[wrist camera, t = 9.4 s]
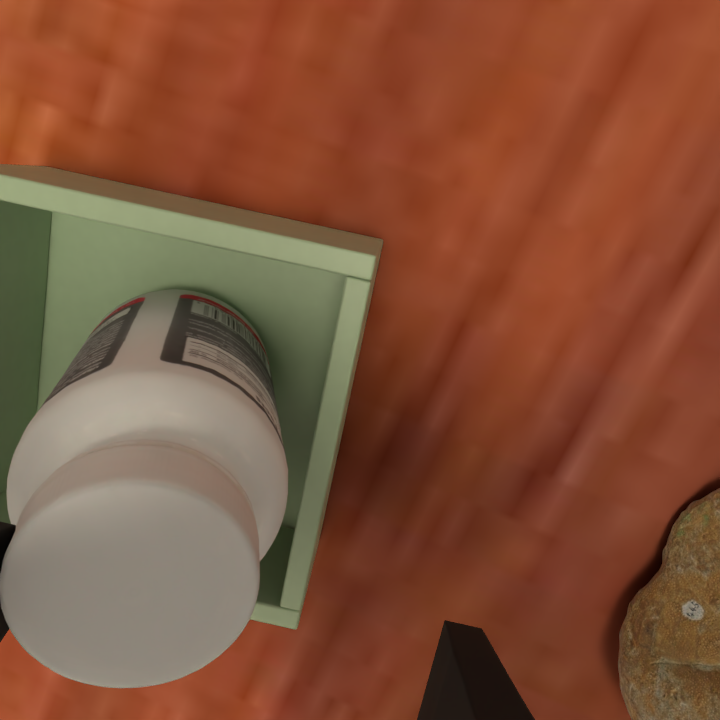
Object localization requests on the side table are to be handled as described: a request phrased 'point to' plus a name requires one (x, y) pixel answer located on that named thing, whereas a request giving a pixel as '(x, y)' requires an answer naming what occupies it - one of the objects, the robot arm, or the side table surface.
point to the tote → (200, 274)
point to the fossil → (677, 625)
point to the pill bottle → (146, 496)
